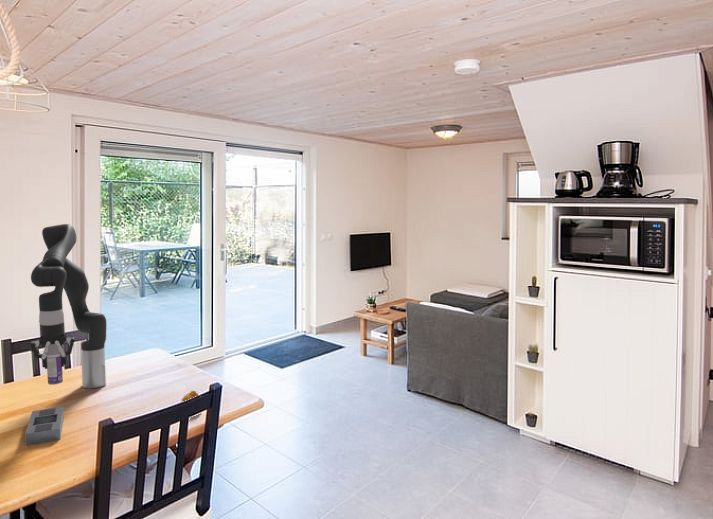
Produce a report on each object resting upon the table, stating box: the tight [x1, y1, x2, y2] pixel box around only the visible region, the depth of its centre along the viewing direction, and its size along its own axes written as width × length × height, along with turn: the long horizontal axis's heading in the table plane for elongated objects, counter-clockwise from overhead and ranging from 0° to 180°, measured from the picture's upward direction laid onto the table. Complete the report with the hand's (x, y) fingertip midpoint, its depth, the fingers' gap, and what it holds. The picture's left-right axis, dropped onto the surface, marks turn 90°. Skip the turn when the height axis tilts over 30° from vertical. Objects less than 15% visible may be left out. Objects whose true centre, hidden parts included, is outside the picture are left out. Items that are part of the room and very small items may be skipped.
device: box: [24, 406, 65, 446], centre depth 174 cm, size 10×20×4 cm, turn 28°
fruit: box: [180, 390, 200, 403], centre depth 194 cm, size 8×8×8 cm
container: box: [46, 343, 64, 386], centre depth 175 cm, size 5×5×15 cm
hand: (54, 366), depth 175 cm, fingers closed on container, 4 cm apart
